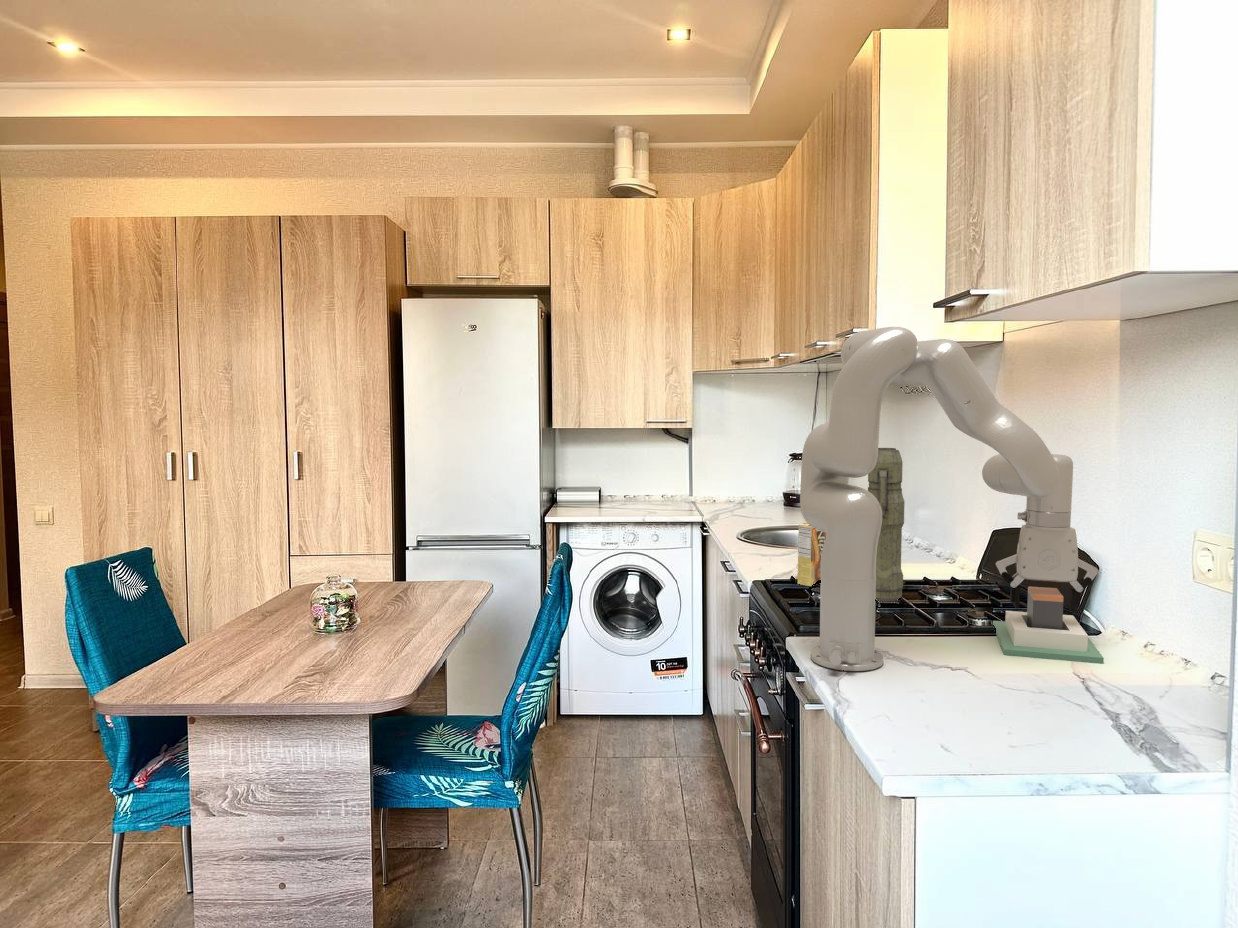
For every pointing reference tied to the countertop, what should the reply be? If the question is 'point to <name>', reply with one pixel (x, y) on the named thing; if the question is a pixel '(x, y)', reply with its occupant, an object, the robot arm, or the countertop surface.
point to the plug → (1044, 608)
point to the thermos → (888, 522)
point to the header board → (1043, 651)
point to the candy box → (809, 554)
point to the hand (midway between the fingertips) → (1044, 608)
